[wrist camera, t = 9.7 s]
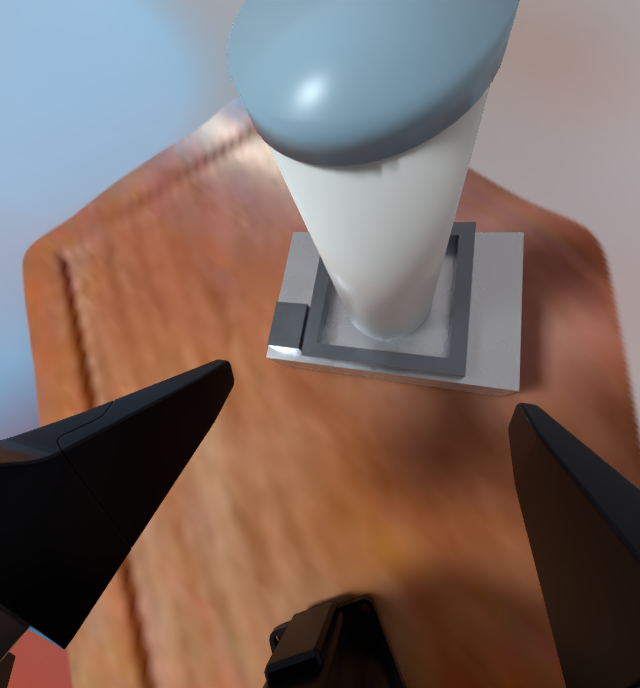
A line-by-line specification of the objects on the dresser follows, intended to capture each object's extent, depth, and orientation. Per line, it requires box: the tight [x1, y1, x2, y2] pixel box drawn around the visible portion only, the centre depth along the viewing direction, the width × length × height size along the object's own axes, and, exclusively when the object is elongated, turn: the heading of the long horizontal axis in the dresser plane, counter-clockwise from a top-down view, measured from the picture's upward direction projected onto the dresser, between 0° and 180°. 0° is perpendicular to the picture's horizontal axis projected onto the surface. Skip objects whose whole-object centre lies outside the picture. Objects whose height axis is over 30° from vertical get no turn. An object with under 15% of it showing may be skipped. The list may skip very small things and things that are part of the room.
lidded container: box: [227, 0, 520, 340], centre depth 12 cm, size 5×5×13 cm
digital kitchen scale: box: [266, 222, 524, 396], centre depth 19 cm, size 9×14×4 cm, turn 80°
